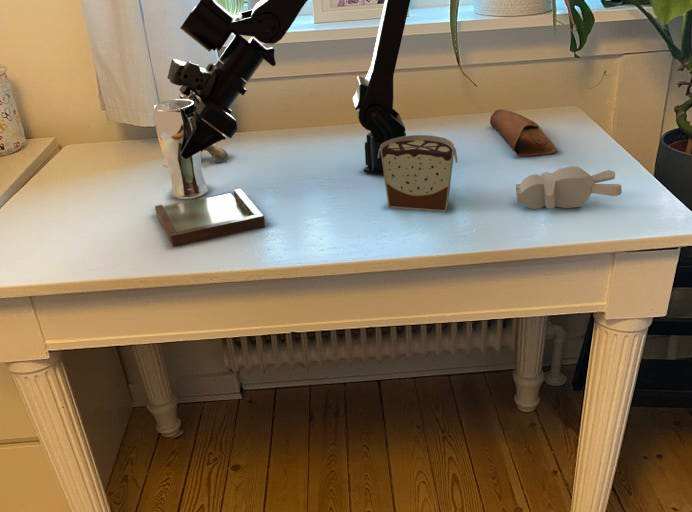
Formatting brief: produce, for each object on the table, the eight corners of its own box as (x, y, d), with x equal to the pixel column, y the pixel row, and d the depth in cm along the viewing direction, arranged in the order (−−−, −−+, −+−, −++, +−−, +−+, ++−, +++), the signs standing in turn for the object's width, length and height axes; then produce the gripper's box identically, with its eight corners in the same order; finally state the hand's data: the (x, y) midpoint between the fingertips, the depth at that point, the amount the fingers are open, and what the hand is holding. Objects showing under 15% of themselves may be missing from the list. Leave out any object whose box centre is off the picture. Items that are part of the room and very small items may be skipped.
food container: (464, 197, 121) (465, 135, 115) (455, 212, 116) (456, 148, 110) (390, 192, 124) (388, 132, 119) (379, 206, 120) (376, 145, 114)
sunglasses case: (560, 150, 134) (544, 120, 131) (526, 173, 136) (509, 143, 133) (530, 121, 149) (515, 93, 146) (500, 142, 151) (484, 115, 148)
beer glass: (201, 200, 127) (185, 110, 118) (163, 200, 128) (144, 110, 120) (216, 185, 132) (201, 98, 124) (179, 184, 134) (162, 98, 125)
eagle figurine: (170, 157, 143) (203, 155, 138) (174, 120, 143) (207, 116, 137) (200, 168, 149) (232, 166, 144) (204, 132, 149) (237, 128, 144)
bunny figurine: (513, 168, 119) (612, 155, 116) (515, 198, 122) (612, 186, 119) (517, 190, 111) (624, 177, 108) (519, 222, 114) (623, 210, 111)
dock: (153, 210, 124) (151, 199, 123) (237, 192, 129) (235, 182, 128) (173, 247, 112) (170, 236, 111) (265, 226, 116) (263, 215, 115)
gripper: (181, 29, 125) (129, 106, 128) (204, 49, 110) (144, 136, 114) (234, 71, 132) (183, 144, 135) (262, 96, 117) (204, 177, 120)
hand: (178, 149), depth 126 cm, fingers open, 8 cm apart
